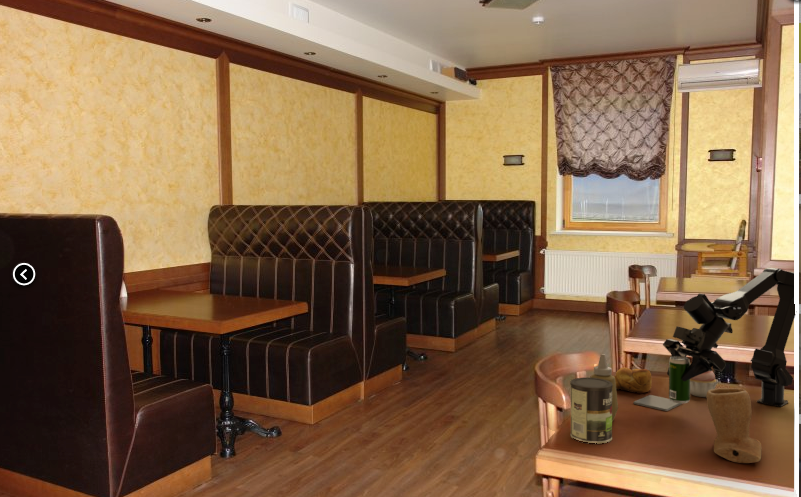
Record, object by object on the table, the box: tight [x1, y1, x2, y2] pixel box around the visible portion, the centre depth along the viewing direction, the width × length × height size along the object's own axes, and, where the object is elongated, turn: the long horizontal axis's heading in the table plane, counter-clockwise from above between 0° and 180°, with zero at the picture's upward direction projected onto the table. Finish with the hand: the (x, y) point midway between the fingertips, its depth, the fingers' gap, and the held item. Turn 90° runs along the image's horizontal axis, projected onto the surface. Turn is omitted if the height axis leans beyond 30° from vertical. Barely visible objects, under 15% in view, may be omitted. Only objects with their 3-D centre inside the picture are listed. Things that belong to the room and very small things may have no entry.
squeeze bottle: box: [589, 353, 619, 422], centre depth 179 cm, size 8×8×18 cm
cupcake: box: [690, 370, 719, 398], centre depth 201 cm, size 9×9×10 cm
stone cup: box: [705, 387, 762, 464], centre depth 154 cm, size 15×12×15 cm
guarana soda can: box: [668, 356, 691, 404], centre depth 182 cm, size 5×5×12 cm
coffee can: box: [569, 377, 613, 445], centre depth 166 cm, size 10×10×14 cm
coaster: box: [633, 394, 683, 412], centre depth 193 cm, size 10×10×1 cm
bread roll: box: [613, 366, 652, 394], centre depth 208 cm, size 13×10×8 cm
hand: (675, 377), depth 181 cm, fingers closed on guarana soda can, 5 cm apart
